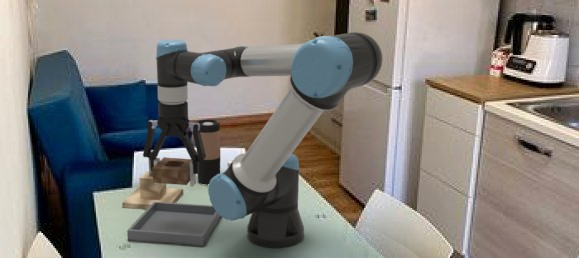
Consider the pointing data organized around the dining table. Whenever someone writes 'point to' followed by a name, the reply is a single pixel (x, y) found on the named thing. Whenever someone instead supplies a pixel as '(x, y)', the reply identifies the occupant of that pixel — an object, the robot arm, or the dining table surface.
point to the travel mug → (209, 150)
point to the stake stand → (151, 193)
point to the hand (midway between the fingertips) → (175, 183)
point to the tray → (175, 224)
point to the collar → (172, 171)
